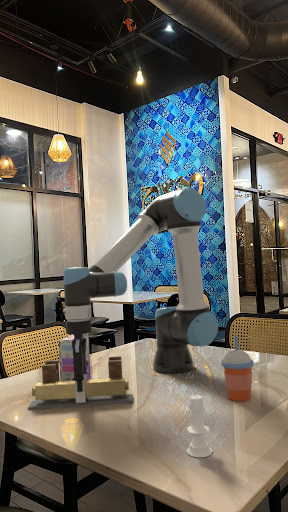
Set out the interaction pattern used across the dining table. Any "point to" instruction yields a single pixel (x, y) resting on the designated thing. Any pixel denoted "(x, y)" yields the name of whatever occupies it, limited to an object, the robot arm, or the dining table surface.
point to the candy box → (71, 358)
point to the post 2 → (115, 367)
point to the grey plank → (89, 401)
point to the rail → (91, 388)
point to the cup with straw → (238, 373)
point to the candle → (198, 429)
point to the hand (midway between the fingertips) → (81, 399)
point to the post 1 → (50, 371)
